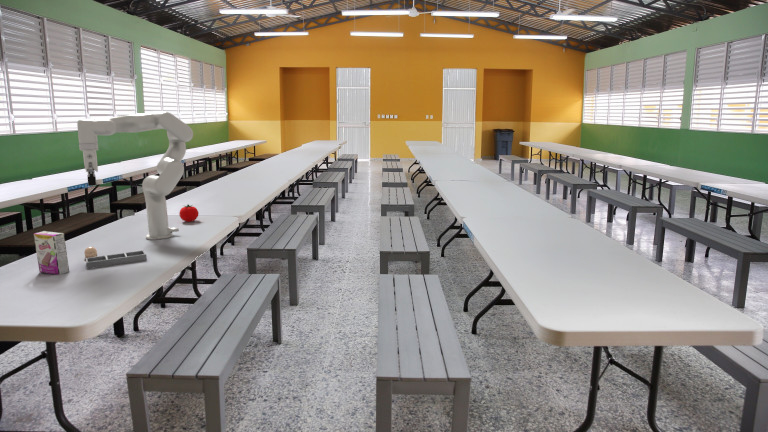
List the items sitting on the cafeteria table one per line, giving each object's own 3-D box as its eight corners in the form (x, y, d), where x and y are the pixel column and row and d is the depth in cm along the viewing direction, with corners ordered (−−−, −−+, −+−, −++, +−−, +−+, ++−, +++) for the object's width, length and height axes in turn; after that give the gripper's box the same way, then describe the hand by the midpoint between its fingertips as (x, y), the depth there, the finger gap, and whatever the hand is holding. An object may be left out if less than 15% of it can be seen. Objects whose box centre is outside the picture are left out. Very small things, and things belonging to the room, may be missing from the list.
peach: (97, 255, 237) (95, 245, 236) (97, 258, 233) (96, 247, 232) (84, 257, 235) (83, 246, 234) (85, 259, 231) (84, 248, 230)
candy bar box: (38, 272, 213) (32, 233, 210) (49, 269, 218) (44, 230, 214) (59, 275, 209) (53, 235, 206) (70, 271, 214) (64, 232, 211)
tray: (144, 255, 236) (143, 250, 235) (146, 260, 229) (146, 254, 229) (86, 264, 224) (85, 258, 224) (87, 268, 218) (86, 262, 217)
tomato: (195, 223, 301) (193, 206, 299) (177, 223, 301) (175, 206, 299) (201, 219, 311) (200, 203, 309) (184, 219, 311) (182, 203, 309)
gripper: (98, 147, 234) (101, 186, 237) (97, 146, 249) (100, 181, 252) (79, 148, 231) (82, 186, 234) (79, 146, 246) (82, 182, 249)
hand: (92, 184), depth 243 cm, fingers open, 9 cm apart
